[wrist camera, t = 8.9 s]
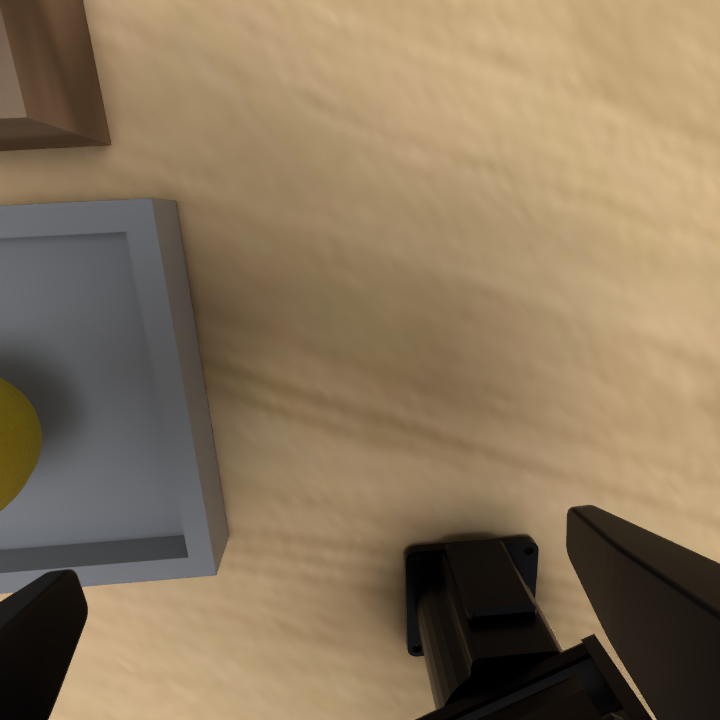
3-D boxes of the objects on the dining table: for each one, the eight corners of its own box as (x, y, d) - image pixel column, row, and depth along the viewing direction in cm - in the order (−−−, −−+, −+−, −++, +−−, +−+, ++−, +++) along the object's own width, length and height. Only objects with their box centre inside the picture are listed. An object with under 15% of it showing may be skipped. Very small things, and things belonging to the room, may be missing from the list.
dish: (228, 536, 22) (216, 575, 20) (-102, 563, 21) (-157, 606, 19) (175, 200, 17) (151, 197, 15) (-244, 222, 17) (-339, 222, 14)
